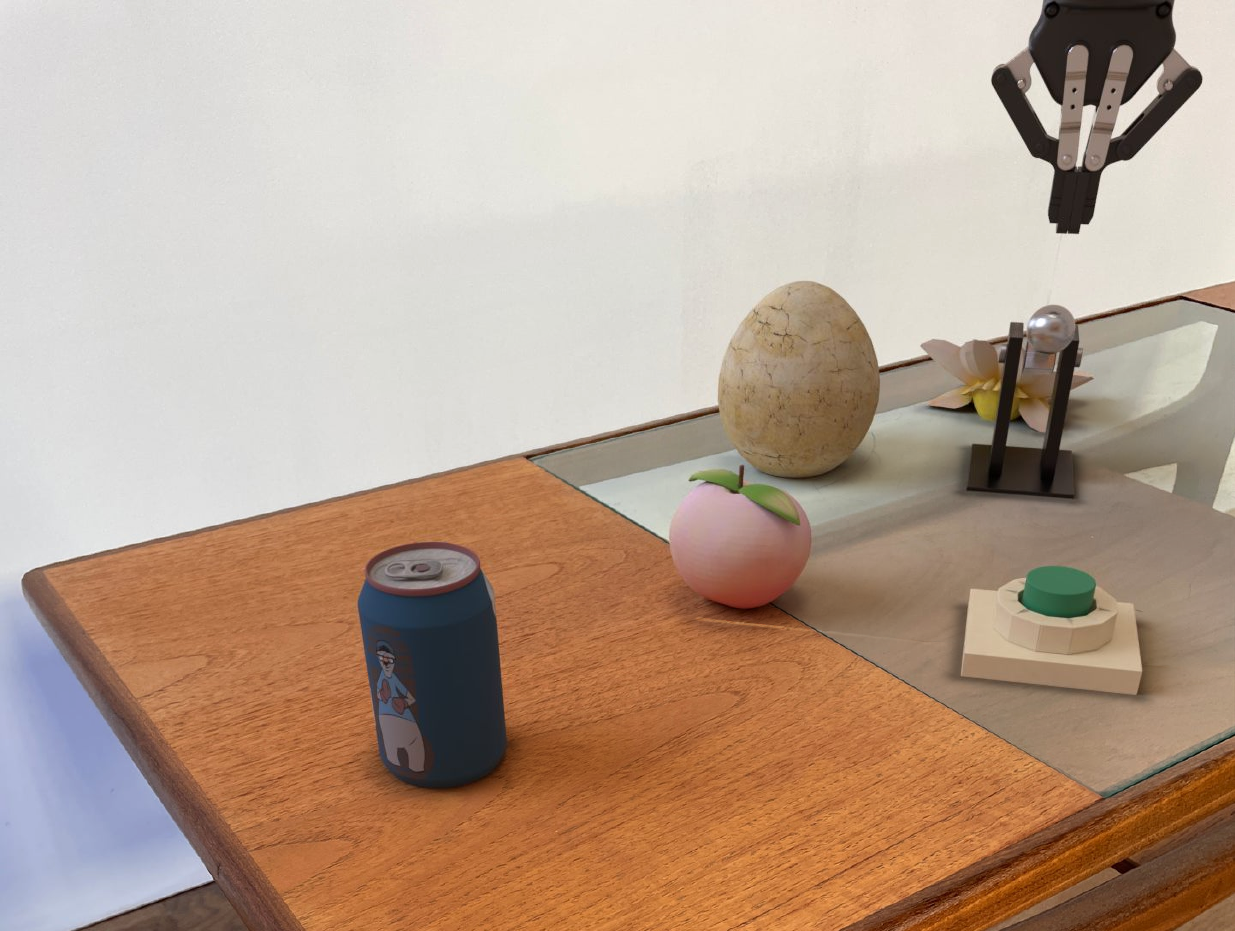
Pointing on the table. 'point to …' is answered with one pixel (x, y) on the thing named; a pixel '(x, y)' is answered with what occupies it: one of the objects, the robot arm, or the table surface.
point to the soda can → (433, 664)
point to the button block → (1051, 643)
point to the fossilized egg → (799, 382)
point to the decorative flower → (993, 382)
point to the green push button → (1059, 592)
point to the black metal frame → (1022, 465)
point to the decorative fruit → (739, 539)
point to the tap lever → (1047, 338)
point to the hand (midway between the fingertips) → (1067, 231)
